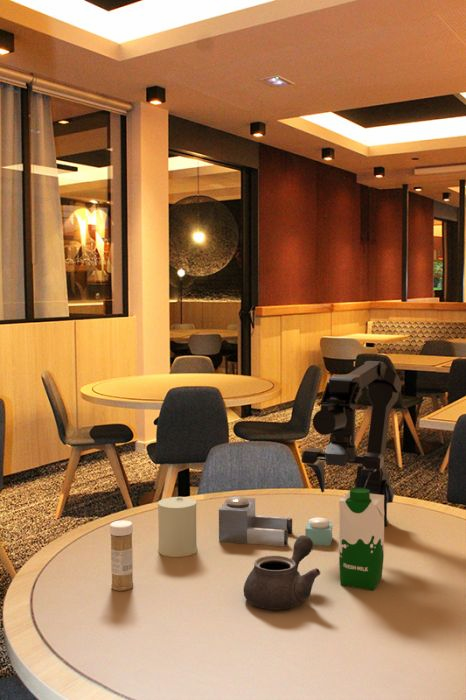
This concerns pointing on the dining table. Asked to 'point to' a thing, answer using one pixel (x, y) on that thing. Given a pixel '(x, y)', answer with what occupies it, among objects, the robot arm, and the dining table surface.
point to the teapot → (281, 579)
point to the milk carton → (361, 538)
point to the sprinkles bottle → (121, 555)
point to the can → (177, 526)
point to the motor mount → (251, 524)
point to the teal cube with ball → (319, 531)
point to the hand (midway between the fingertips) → (341, 494)
